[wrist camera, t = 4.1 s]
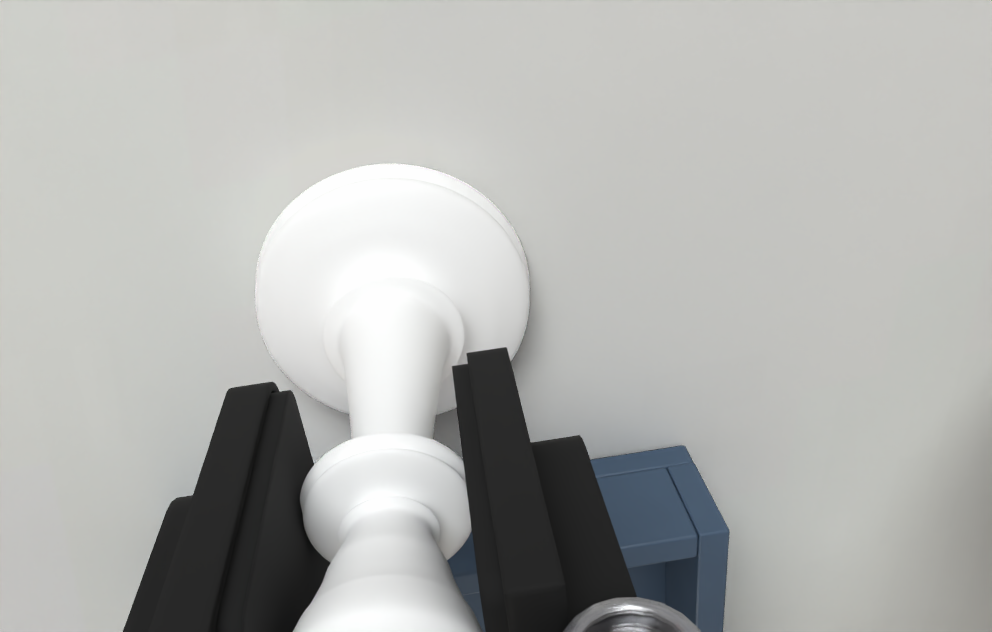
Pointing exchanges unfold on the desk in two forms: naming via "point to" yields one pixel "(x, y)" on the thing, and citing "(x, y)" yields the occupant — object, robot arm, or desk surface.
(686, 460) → the tray
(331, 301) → the chess piece
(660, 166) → the desk surface
